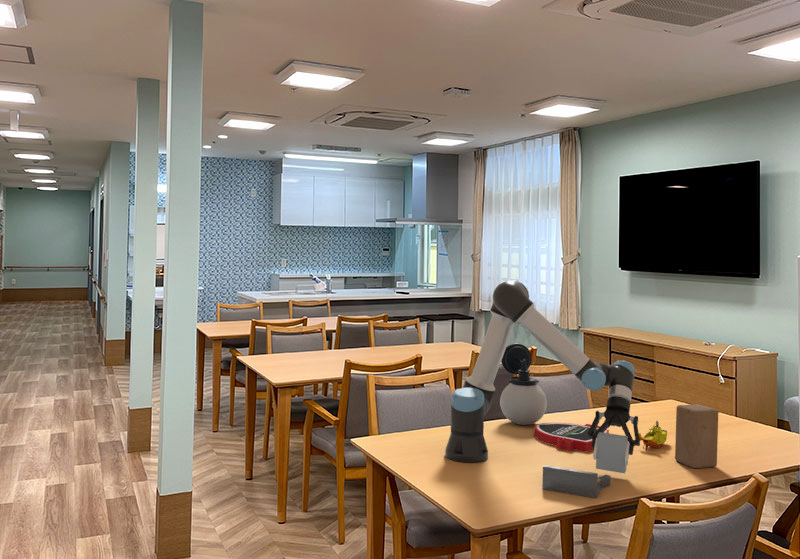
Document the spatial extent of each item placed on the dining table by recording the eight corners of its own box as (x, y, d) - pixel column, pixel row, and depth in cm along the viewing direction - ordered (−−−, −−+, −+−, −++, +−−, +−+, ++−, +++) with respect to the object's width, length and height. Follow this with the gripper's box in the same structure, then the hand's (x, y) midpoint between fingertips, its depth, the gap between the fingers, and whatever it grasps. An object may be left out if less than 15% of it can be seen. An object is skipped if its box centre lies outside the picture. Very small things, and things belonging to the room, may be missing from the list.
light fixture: (505, 430, 264) (507, 350, 264) (493, 416, 287) (494, 343, 286) (552, 430, 266) (554, 350, 265) (536, 416, 289) (537, 343, 288)
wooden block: (693, 469, 218) (695, 411, 217) (673, 460, 227) (675, 404, 227) (718, 467, 220) (719, 409, 220) (697, 458, 230) (699, 403, 229)
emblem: (550, 417, 274) (620, 429, 256) (550, 426, 274) (620, 439, 256) (517, 431, 250) (593, 446, 231) (517, 441, 250) (592, 456, 231)
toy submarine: (636, 449, 240) (636, 423, 239) (656, 441, 252) (657, 415, 252) (653, 453, 235) (653, 426, 235) (673, 444, 248) (674, 418, 248)
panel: (597, 464, 213) (599, 432, 212) (626, 469, 209) (628, 436, 208) (595, 468, 209) (597, 435, 208) (624, 473, 205) (626, 439, 204)
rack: (546, 474, 210) (546, 453, 210) (610, 484, 201) (610, 462, 201) (535, 488, 197) (536, 465, 197) (603, 499, 188) (604, 476, 188)
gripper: (653, 412, 217) (646, 471, 203) (587, 403, 227) (577, 460, 213) (652, 399, 212) (646, 459, 198) (585, 391, 222) (574, 448, 208)
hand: (610, 459), depth 206 cm, fingers closed on panel, 9 cm apart
